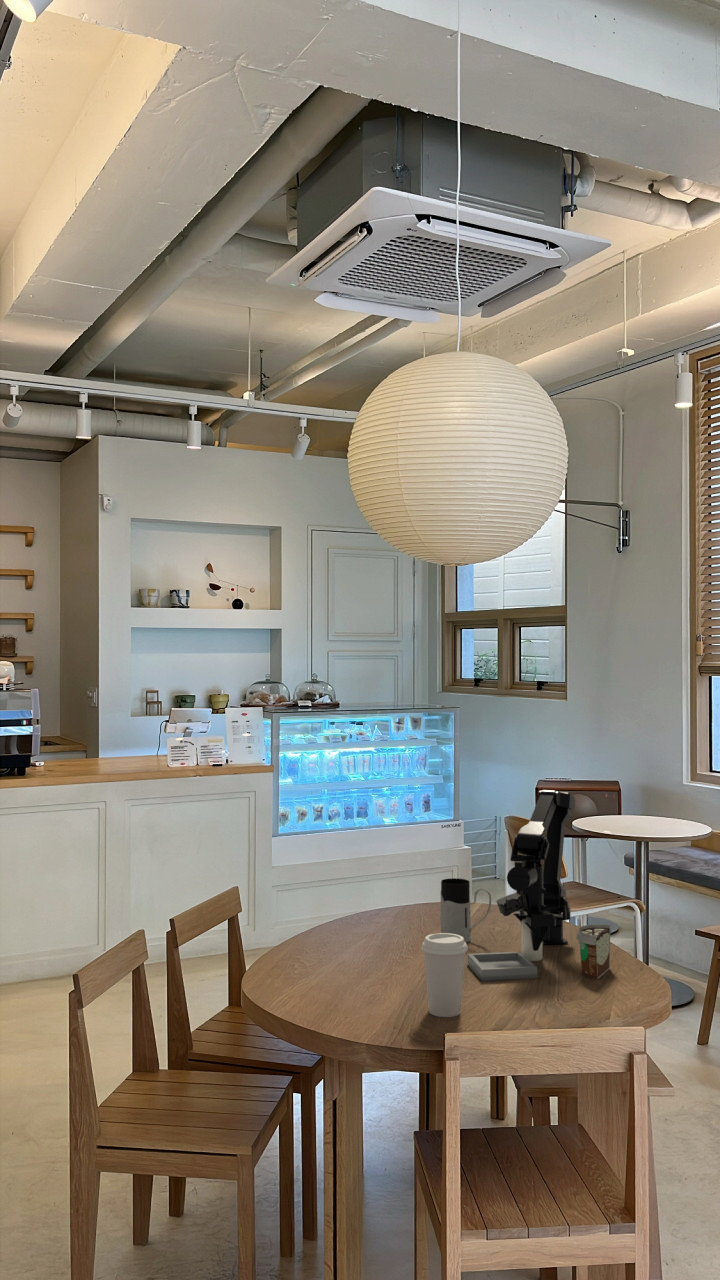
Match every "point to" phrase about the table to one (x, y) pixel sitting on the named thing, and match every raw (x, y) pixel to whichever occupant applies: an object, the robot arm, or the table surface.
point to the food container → (594, 949)
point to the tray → (502, 966)
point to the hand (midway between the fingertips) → (532, 947)
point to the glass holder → (457, 907)
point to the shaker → (529, 944)
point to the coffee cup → (444, 972)
